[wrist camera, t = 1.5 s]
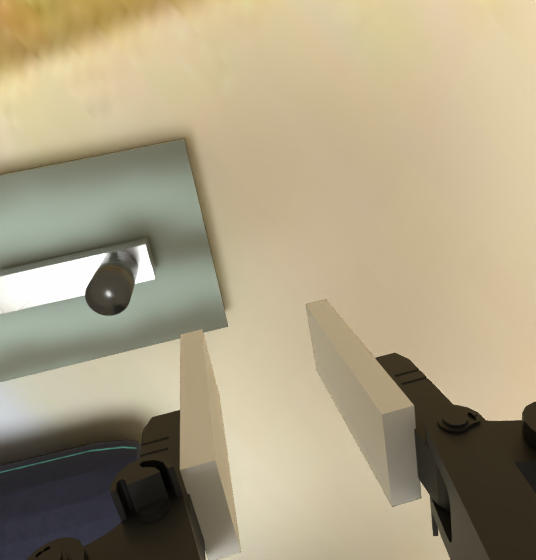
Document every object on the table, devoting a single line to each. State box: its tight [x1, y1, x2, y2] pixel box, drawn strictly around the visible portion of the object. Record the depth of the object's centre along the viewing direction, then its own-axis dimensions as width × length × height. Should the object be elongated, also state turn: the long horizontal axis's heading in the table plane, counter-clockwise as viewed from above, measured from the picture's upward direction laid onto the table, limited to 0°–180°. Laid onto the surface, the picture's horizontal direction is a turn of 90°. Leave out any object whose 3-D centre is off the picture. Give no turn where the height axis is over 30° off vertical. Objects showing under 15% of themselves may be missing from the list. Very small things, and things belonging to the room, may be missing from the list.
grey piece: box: [0, 238, 156, 316], centre depth 28 cm, size 2×10×7 cm, turn 100°
